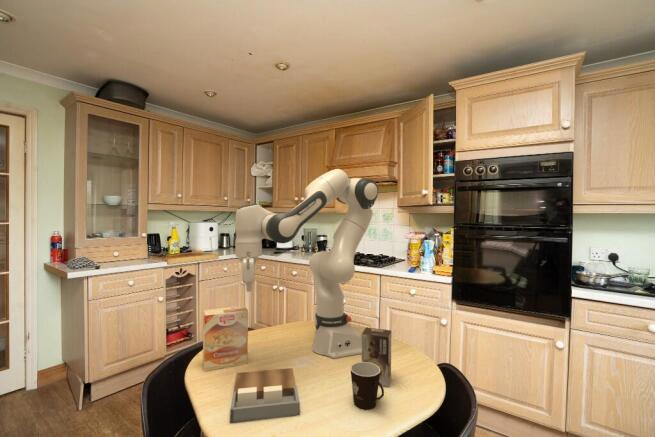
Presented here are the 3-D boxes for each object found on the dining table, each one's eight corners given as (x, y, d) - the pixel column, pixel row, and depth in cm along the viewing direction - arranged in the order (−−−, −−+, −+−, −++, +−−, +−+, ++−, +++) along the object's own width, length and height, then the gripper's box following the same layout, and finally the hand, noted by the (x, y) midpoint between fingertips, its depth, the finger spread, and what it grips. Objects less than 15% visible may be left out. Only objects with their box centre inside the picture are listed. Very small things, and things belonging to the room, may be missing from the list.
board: (292, 376, 105) (292, 367, 105) (296, 397, 93) (296, 387, 93) (236, 382, 101) (236, 372, 101) (233, 403, 90) (233, 393, 90)
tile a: (281, 385, 90) (282, 390, 87) (281, 402, 90) (281, 408, 87) (263, 387, 88) (263, 391, 86) (263, 404, 89) (263, 410, 86)
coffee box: (391, 378, 105) (392, 330, 105) (388, 387, 99) (389, 337, 99) (364, 373, 108) (365, 326, 108) (360, 382, 102) (361, 333, 102)
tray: (296, 397, 93) (296, 385, 93) (299, 415, 85) (299, 402, 85) (233, 403, 90) (233, 391, 90) (230, 423, 81) (230, 409, 81)
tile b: (256, 386, 88) (256, 391, 86) (256, 404, 89) (256, 410, 86) (238, 388, 87) (237, 393, 85) (238, 406, 88) (237, 412, 85)
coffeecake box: (203, 371, 108) (204, 315, 108) (202, 363, 114) (202, 309, 114) (248, 363, 114) (248, 310, 114) (244, 355, 121) (244, 304, 120)
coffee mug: (347, 395, 95) (348, 362, 95) (375, 394, 96) (376, 361, 95) (354, 420, 83) (354, 382, 83) (386, 418, 84) (386, 381, 84)
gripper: (258, 254, 99) (258, 298, 99) (257, 247, 119) (258, 283, 119) (237, 255, 98) (238, 299, 98) (240, 247, 118) (241, 284, 118)
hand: (249, 290), depth 109 cm, fingers closed
